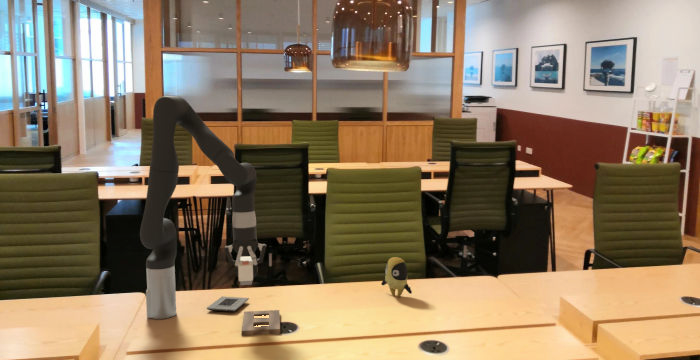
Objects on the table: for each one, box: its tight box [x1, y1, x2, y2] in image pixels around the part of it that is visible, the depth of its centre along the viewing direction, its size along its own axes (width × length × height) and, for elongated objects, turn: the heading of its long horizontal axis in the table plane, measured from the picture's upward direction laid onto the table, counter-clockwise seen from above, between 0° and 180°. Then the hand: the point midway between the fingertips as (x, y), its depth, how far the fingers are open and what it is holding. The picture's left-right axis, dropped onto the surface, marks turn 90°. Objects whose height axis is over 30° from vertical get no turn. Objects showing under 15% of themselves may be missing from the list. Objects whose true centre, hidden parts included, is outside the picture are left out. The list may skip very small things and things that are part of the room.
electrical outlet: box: [206, 296, 250, 312], centre depth 215 cm, size 13×10×2 cm
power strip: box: [238, 255, 254, 286], centre depth 197 cm, size 4×12×7 cm, turn 7°
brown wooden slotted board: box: [241, 309, 281, 336], centre depth 198 cm, size 12×18×2 cm, turn 7°
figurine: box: [381, 256, 413, 298], centre depth 226 cm, size 8×16×15 cm, turn 42°
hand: (246, 275), depth 197 cm, fingers closed on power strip, 4 cm apart
